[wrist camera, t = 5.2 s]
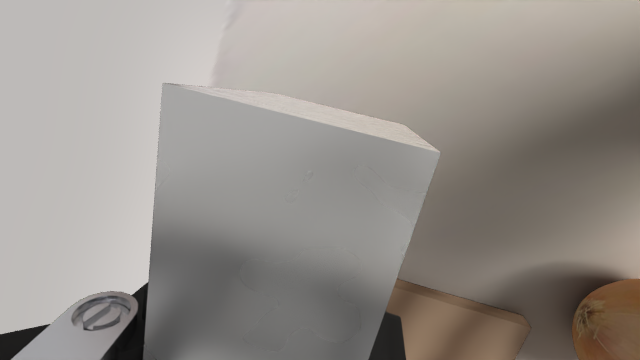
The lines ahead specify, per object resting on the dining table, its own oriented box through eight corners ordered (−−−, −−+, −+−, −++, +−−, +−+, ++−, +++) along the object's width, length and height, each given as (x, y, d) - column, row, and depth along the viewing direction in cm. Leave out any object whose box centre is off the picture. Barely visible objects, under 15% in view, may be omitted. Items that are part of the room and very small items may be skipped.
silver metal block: (403, 124, 9) (441, 152, 4) (314, 417, 12) (274, 624, 7) (273, 92, 9) (163, 82, 4) (222, 384, 12) (129, 559, 8)
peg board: (522, 315, 26) (552, 356, 22) (473, 413, 30) (490, 465, 25) (285, 246, 28) (270, 271, 24) (263, 345, 32) (247, 382, 27)
